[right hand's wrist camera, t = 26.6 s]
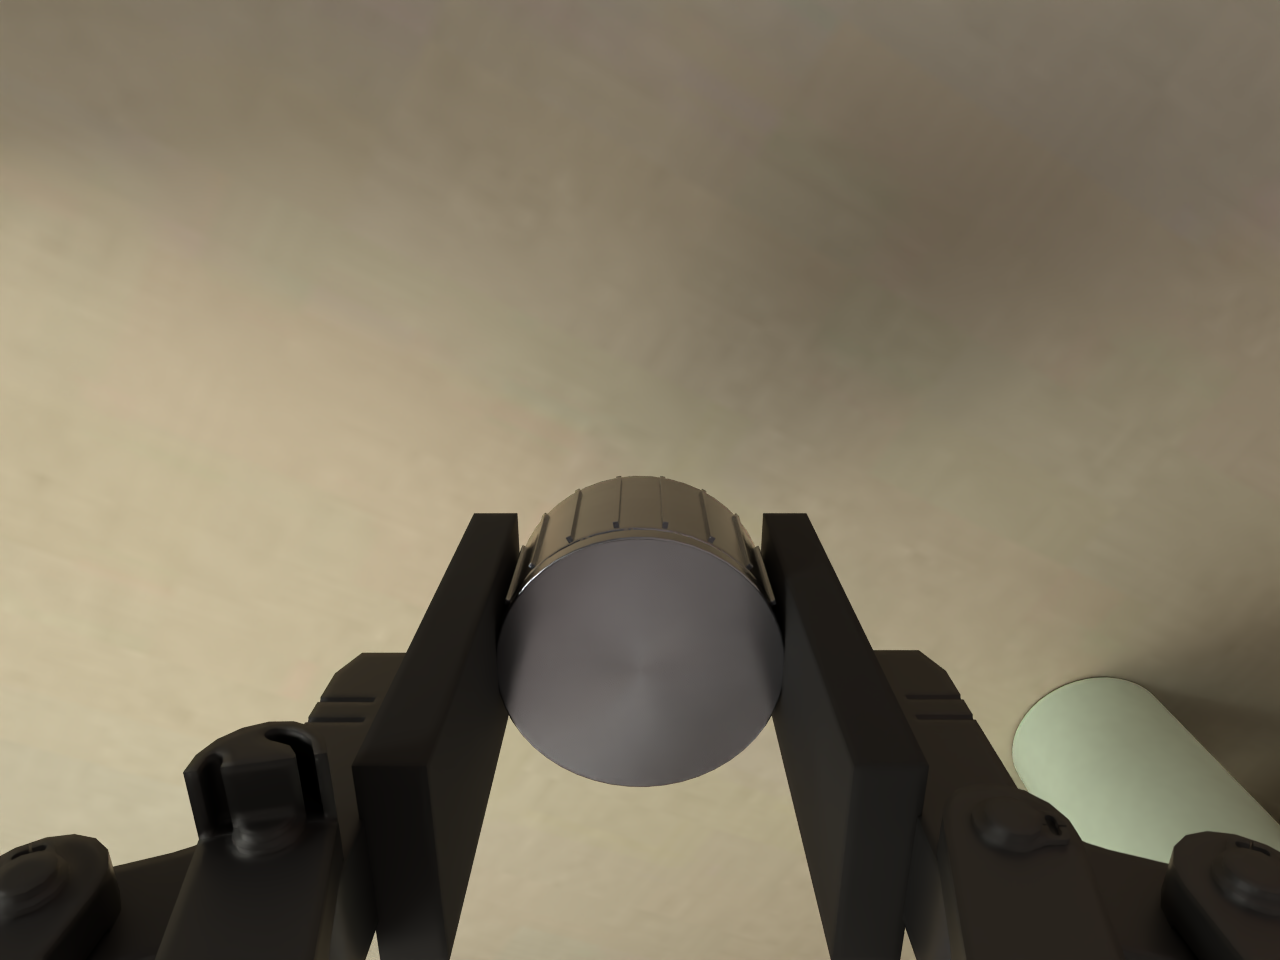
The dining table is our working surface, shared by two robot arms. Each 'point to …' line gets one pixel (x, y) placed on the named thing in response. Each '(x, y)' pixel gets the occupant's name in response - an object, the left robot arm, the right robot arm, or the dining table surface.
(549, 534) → the cap
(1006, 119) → the dining table surface
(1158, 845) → the bottle
